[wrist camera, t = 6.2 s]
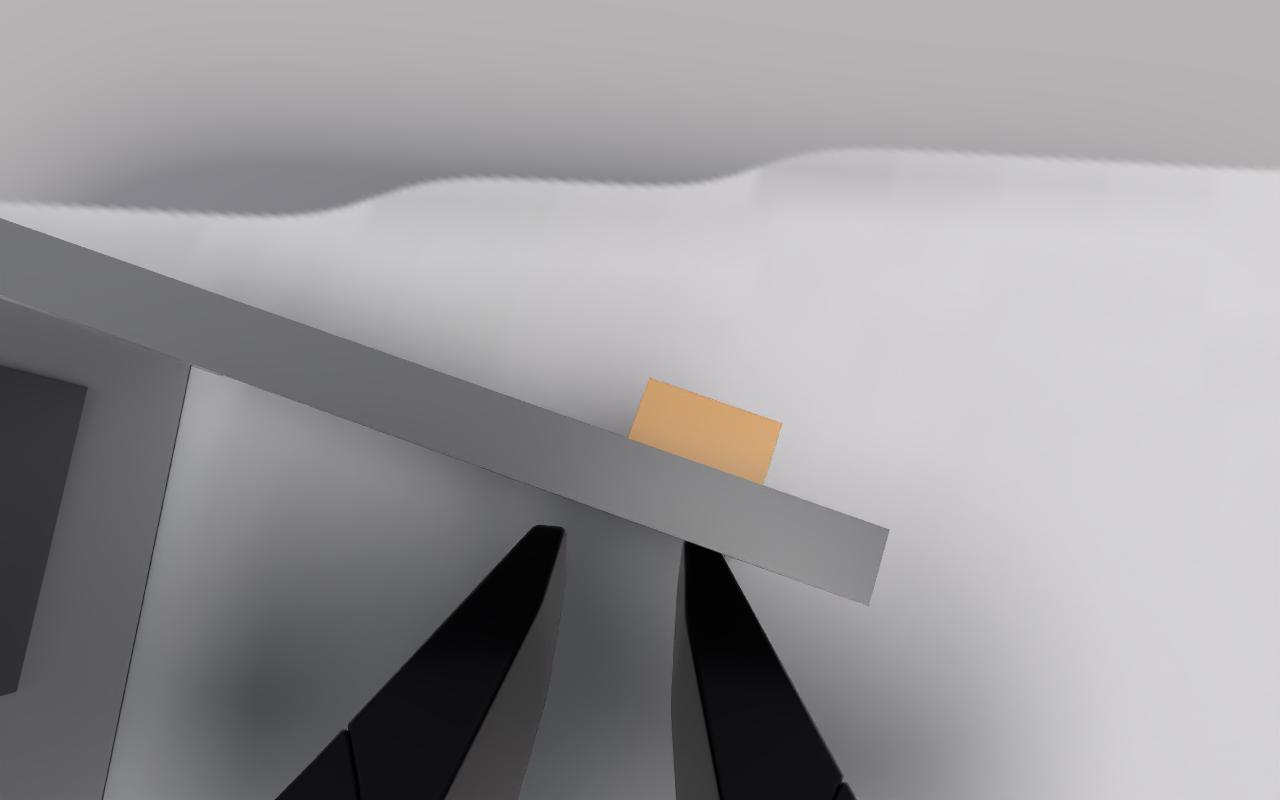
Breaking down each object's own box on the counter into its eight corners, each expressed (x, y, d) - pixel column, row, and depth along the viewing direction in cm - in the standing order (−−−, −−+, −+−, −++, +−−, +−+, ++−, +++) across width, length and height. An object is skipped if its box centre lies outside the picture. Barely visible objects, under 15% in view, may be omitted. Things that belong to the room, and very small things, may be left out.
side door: (200, 369, 17) (-352, 173, 7) (235, 297, 17) (-248, 26, 8) (732, 560, 16) (867, 610, 7) (757, 480, 16) (919, 420, 7)
